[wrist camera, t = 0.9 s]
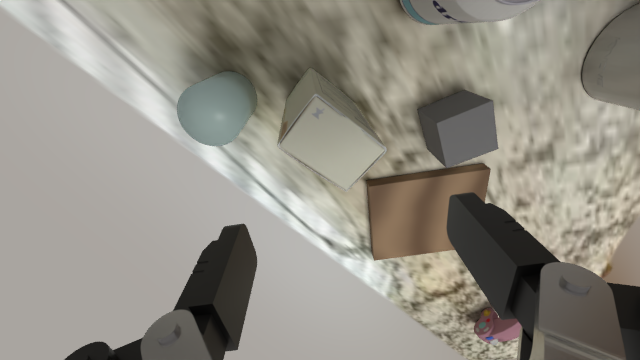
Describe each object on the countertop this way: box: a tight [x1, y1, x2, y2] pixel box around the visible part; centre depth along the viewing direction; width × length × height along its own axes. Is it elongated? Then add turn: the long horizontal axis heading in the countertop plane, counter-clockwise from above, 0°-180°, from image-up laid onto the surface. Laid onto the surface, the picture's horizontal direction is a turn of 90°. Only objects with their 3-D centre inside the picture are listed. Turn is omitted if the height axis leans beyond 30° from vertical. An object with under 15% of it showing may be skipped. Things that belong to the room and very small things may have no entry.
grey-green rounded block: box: [177, 71, 257, 146], centre depth 24 cm, size 5×5×7 cm
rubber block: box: [417, 90, 498, 168], centre depth 27 cm, size 5×5×5 cm
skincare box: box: [277, 67, 387, 191], centre depth 23 cm, size 6×4×12 cm
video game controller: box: [474, 308, 521, 345], centre depth 43 cm, size 10×5×7 cm, turn 139°
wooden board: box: [367, 163, 491, 260], centre depth 35 cm, size 14×12×2 cm
